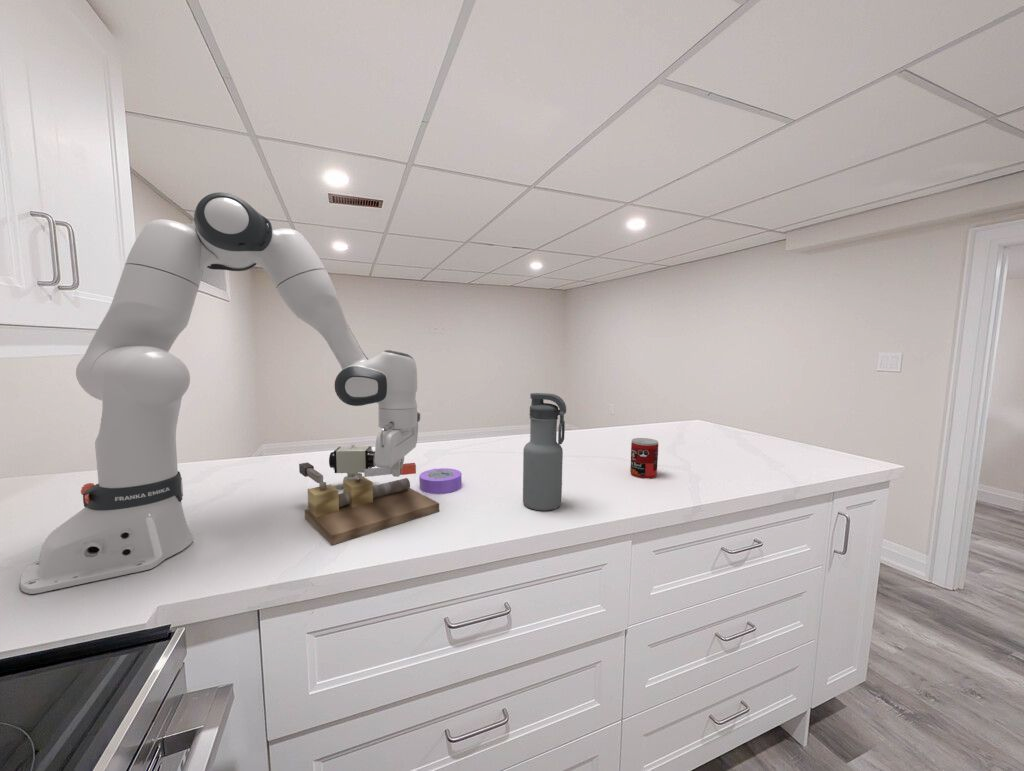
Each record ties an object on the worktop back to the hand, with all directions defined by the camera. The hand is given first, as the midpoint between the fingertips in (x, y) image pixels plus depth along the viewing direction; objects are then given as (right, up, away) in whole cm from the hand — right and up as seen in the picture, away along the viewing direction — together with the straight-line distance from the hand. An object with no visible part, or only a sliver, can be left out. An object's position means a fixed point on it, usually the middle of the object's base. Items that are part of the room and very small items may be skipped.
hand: (397, 475), depth 99 cm
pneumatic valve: (-16, -7, +16) cm, 24 cm away
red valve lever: (-3, -1, +1) cm, 3 cm away
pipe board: (-8, -8, 0) cm, 11 cm away
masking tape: (+8, -7, +17) cm, 20 cm away
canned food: (+69, -6, +29) cm, 75 cm away
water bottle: (+36, -8, +5) cm, 37 cm away
